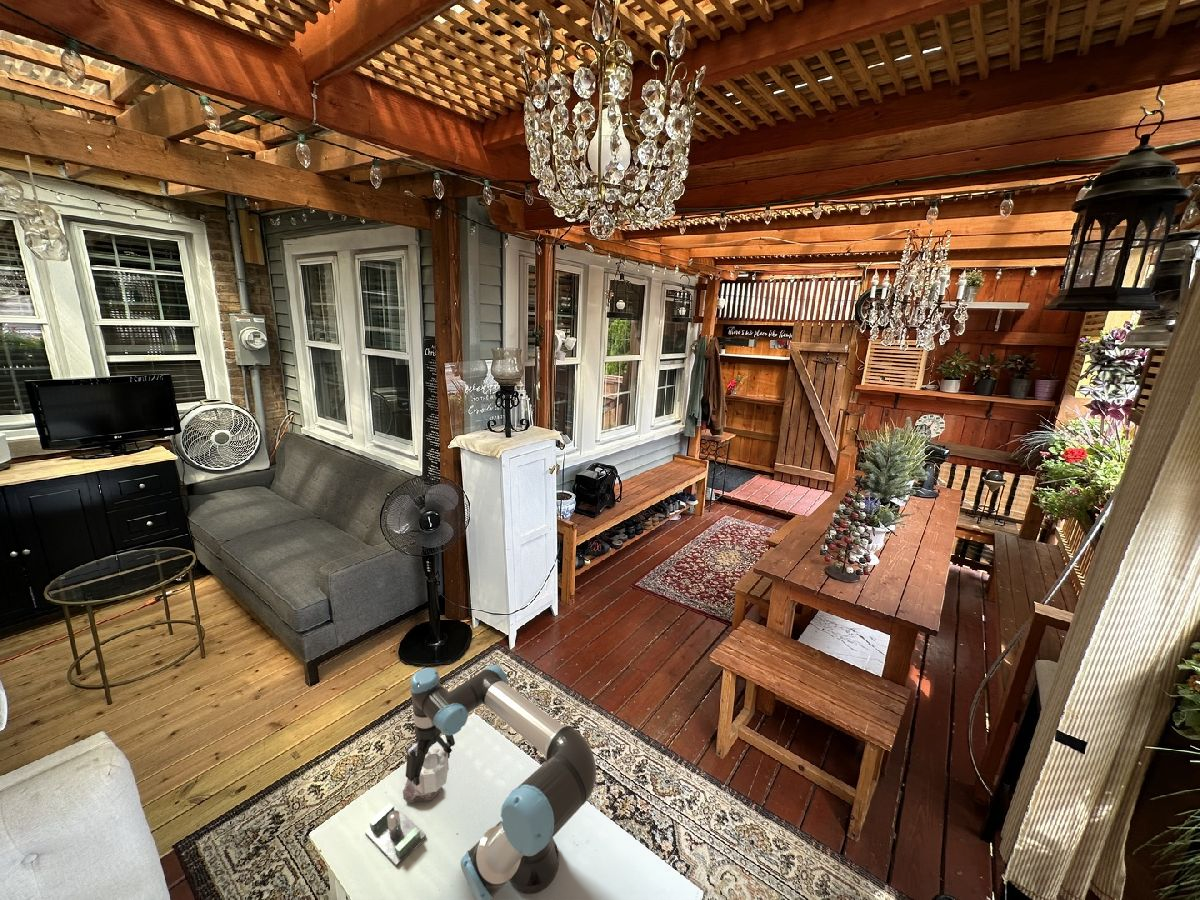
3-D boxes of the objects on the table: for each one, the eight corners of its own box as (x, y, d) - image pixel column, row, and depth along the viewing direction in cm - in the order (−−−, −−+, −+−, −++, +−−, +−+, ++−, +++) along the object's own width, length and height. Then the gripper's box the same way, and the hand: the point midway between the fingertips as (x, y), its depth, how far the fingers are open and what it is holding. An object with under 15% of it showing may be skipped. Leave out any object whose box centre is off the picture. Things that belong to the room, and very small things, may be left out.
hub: (452, 776, 143) (451, 759, 141) (429, 797, 136) (428, 779, 134) (436, 762, 147) (434, 744, 145) (413, 781, 141) (411, 763, 139)
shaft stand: (426, 836, 144) (423, 817, 142) (396, 867, 136) (394, 847, 134) (394, 807, 153) (392, 788, 150) (365, 834, 145) (362, 814, 142)
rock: (436, 804, 154) (435, 794, 153) (401, 805, 153) (400, 794, 152) (443, 781, 162) (442, 771, 161) (410, 782, 161) (409, 771, 160)
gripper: (449, 690, 145) (453, 747, 152) (386, 736, 129) (393, 798, 135) (465, 702, 141) (468, 760, 148) (402, 751, 125) (409, 814, 131)
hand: (432, 778), depth 142 cm, fingers closed on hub, 8 cm apart
